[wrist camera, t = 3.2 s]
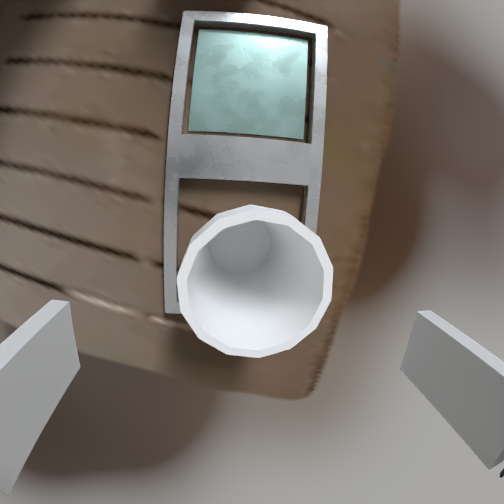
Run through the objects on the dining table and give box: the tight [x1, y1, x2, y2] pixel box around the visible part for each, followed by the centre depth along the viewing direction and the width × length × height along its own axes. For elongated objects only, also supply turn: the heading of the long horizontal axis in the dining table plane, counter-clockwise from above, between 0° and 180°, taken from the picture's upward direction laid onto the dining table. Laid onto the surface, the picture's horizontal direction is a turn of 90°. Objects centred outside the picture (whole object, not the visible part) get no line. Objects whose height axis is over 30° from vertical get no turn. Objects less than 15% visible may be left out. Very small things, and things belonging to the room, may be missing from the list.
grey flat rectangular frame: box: [164, 11, 327, 314], centre depth 28 cm, size 14×30×1 cm, turn 176°
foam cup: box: [177, 205, 333, 358], centre depth 25 cm, size 10×9×13 cm
